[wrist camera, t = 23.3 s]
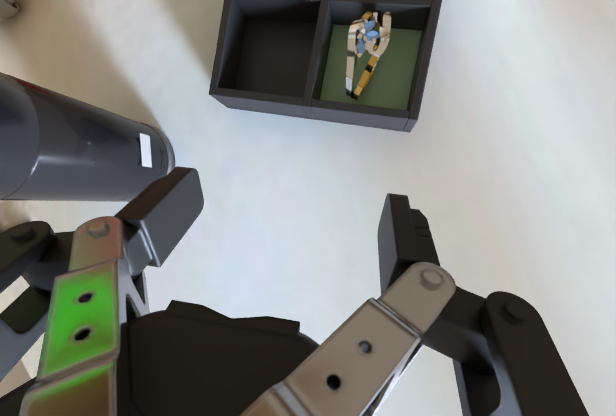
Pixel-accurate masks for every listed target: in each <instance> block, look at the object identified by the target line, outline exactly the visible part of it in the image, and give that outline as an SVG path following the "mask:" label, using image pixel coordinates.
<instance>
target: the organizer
mask: <svg viewBox="0 0 616 416" xmlns="http://www.w3.org/2000/svg"><path fill="white" fill-rule="evenodd" d="M441 3H442V0H224V6H223V12H222V18H221V24H220V30H219V36H218V42H217V48H216V54H215V60H214V66H213V72H212V78H211V84H210V90H209V95H211V96H212V97H214V98H215V99H216V100H218V101H219V102H221V103H222V104H224V105H225V106H226V107H228V108H233V109H241V110H248V111H256V112H263V113H270V114H278V115H285V116H293V117H300V118H307V119H315V120H322V121H330V122H337V123H344V124H352V125H359V126H367V127H374V128H382V129H389V130H396V131H404V132H411V130H412V128H413V127H414V125H415V124H416V122H417V120H418V116H419V111H420V106H421V101H422V96H423V92H424V87H425V82H426V77H427V72H428V67H429V62H430V57H431V52H432V47H433V42H434V37H435V32H436V28H437V23H438V18H439V13H440V8H441ZM370 9H376V10H380V11H382V13H383V14H384V11H387V12H390V13H392V21H391V30H390V38H389V42H388V45H387V47H386V49H385V51H384V52H383V53H382V55H381V58H380V60H379V63H378V65H377V67H376V69H375V72H374V75H373V78H372V79H371V81H370V82H369V83H368V85H367V87H366V89H365V91H364V92H363V94H362V96H361V97H360V99H359V100H358V101H355V100H353V99H351V98H349V97H347V96H346V70H347V51H348V33H349V29H350V26H351V24H352V23H353V22H354V21H355V20H359V19H361V18H362V16H363V15H364V14H365V13H366V12H367V11H369V10H370ZM374 30H375V31H376V28H375V29H374ZM359 33H360V30H359ZM359 33H358V35H359ZM363 42H364V41H363ZM357 43H358V41H357ZM369 58H370V55H369V54H366V51H365V53H364V55H363V59H362V60H361V61H360V60H359V58H358V56H357V63H356V77H355V88H356V86H357V85H358V83H359V81H360V78H361V76H362V74H363V72H364V70H365V68H366V66H367V63H368V60H369Z"/></svg>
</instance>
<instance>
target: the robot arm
mask: <svg viewBox="0 0 616 416" xmlns="http://www.w3.org/2000/svg"><path fill="white" fill-rule="evenodd" d="M0 200H40V201H127V202H129V203H128V204H127V205H126V206H125V207H124V208H123V209H121V210H120V211H119V212H118V213H117V214H116V215H115V216H114V217H112V216H105V217H99V218H95V219H92V220H90V221H87V222H85V223H84V224H82V225H81V226H79V227H78V228H77V229H76V231H72V232H60V233H54V231H53V230H52V228H51V227H50V225H49V224H48V223H47V222H43V221H32V222H26V223H23V224H19V225H17V226H14V227H12V228H10V229H8V230H6V231H5V232H3V233H2V234H0V293H1V292H3V291H4V290H5V289H6V288H7V287H8V286H9V285H11V284H12V283H13V282H14V281H15V280H16V279H17V278H18V277H20V276H21V275H22V277H23V278H24V279H25V280H26V281H27V283H28V284H29V285H30V287H28V288H27V289H26V290H25V291H24V292H23V293H22V294H21V295H20V296H19V297H18V298H17V299H16V300H15V301H14V302H13V303H11V304H10V305H9V306H8V307H7V308H6V309H5V310H4V311H3V312H2V313H1V314H0V382H1V381H2V379H3V378H4V377H5V376H6V375H7V374H8V373H9V371H10V370H11V369H12V368H13V367H14V366H15V365H16V364H17V362H18V361H19V360H20V359H21V358H22V357H23V356H24V354H25V353H26V352H27V351H28V350H29V349H30V348H31V346H32V345H33V344H34V343H35V342H36V341H37V340H38V338H39V337H40V336H41V335H42V334H43V333H44V332H45V334H44V339H43V345H42V350H41V356H40V361H39V367H38V372H37V376H36V377H35V378H33V379H31V380H30V381H28V382H26V383H24V384H23V385H21V386H20V387H18V388H16V389H14V390H13V391H11V392H9V393H8V394H6V395H4V396H3V397H1V398H0V416H374V414H375V413H376V412H377V410H378V409H379V407H380V406H381V405H382V403H383V402H384V400H385V399H386V397H387V396H388V394H389V393H390V391H391V390H392V388H393V387H394V385H395V384H396V382H397V381H398V379H399V378H400V377H401V375H402V374H403V373H404V371H405V370H406V368H407V367H408V366H409V364H410V363H411V362H412V360H413V359H414V358H415V356H416V355H417V353H418V352H419V351H420V349H421V348H422V347H423V345H426V346H428V347H430V348H432V349H434V350H436V351H438V352H440V353H442V354H444V355H446V356H448V357H450V358H452V359H453V365H454V370H455V375H456V381H457V386H458V392H459V397H460V402H461V408H462V413H463V416H589V415H588V413H587V411H586V408H585V406H584V404H583V402H582V400H581V398H580V396H579V394H578V392H577V390H576V388H575V386H574V384H573V382H572V380H571V378H570V376H569V374H568V371H567V369H566V367H565V365H564V363H563V361H562V359H561V357H560V355H559V353H558V351H557V349H556V347H555V345H554V343H553V341H552V339H551V336H550V334H549V332H548V330H547V328H546V326H545V324H544V322H543V320H542V318H541V316H540V315H539V313H538V312H537V311H536V309H535V308H534V307H533V306H532V305H530V304H529V303H528V302H527V301H525V300H524V299H522V298H520V297H518V296H516V295H514V294H511V293H508V292H502V291H497V292H493V293H491V294H490V295H489V296H488V297H487V298H483V297H481V296H478V295H476V294H473V293H471V292H468V291H466V290H463V289H461V288H460V287H458V286H456V284H455V281H454V279H453V278H452V276H451V275H450V274H449V273H448V272H447V271H446V270H445V269H443V268H442V267H440V263H439V260H438V256H437V253H436V249H435V246H434V242H433V239H432V238H431V237H432V235H431V232H430V230H429V225H428V221H427V218H426V217H425V216H424V215H423V214H422V213H421V212H420V210H417V209H410V205H409V201H408V197H407V196H406V195H398V194H390V193H388V194H387V196H386V199H385V203H384V207H383V211H382V215H381V218H380V222H379V227H378V251H379V268H380V284H381V296H380V297H379V298H378V299H377V300H375V299H374V298H370V299H368V300H367V301H366V302H365V303H364V304H363V305H362V306H361V307H359V308H358V309H357V310H356V311H355V312H354V313H353V314H352V315H351V316H350V317H349V318H348V319H347V320H346V321H345V322H344V323H343V324H342V325H341V326H340V327H339V328H338V329H337V330H336V331H335V332H333V333H332V334H331V335H330V336H329V337H328V338H327V339H326V340H325V341H324V342H323V343H322V344H321V345H319V344H317V343H316V342H315V341H314V340H313V339H311V338H309V337H308V336H306V335H304V334H302V333H300V332H299V330H300V322H298V321H292V320H287V319H281V318H275V317H269V316H264V317H250V318H229V317H227V316H224V315H222V314H220V313H218V312H216V311H214V310H212V309H210V308H207V307H205V306H203V305H199V304H193V303H187V302H181V301H175V300H172V301H171V302H170V304H169V306H168V307H167V309H166V310H162V311H157V312H152V313H150V310H149V302H148V294H147V285H146V277H145V273H144V271H143V270H144V268H145V267H146V266H147V265H149V266H155V267H161V265H162V264H163V263H164V261H165V260H166V259H167V257H168V256H169V255H170V253H171V252H172V251H173V249H174V248H175V246H176V245H177V244H178V242H179V241H180V240H181V238H182V237H183V236H184V234H185V233H186V232H187V230H188V229H189V228H190V226H191V225H192V224H193V222H194V221H195V220H196V218H197V217H198V216H199V214H200V213H201V211H202V209H203V204H204V199H203V194H202V189H201V184H200V179H199V175H198V172H197V170H196V169H194V168H186V167H175V157H174V152H173V148H172V146H171V143H170V142H169V140H168V138H167V137H166V136H165V135H164V134H163V133H162V132H161V131H160V130H159V129H157V128H155V127H153V126H150V125H148V124H145V123H141V122H137V121H134V120H131V119H128V118H126V117H123V116H121V115H118V114H115V113H112V112H109V111H107V110H104V109H101V108H98V107H96V106H93V105H90V104H87V103H85V102H82V101H79V100H76V99H74V98H71V97H68V96H65V95H62V94H60V93H57V92H54V91H51V90H49V89H46V88H43V87H40V86H38V85H35V84H32V83H29V82H26V81H24V80H21V79H18V78H15V77H13V76H10V75H7V74H4V73H1V72H0Z"/></svg>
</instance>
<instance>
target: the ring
mask: <svg viewBox="0 0 616 416" xmlns="http://www.w3.org/2000/svg"><path fill="white" fill-rule="evenodd" d="M391 21H392V13H390V12H387V11H384V14H383V13H382V11H380V10H376V9H370V10H369V11H367V12H366V13H365V14H364V15H363V16H362V18H361V19H359V20H355V21H354V22H353V23H352V24H351V26H350V29H349V33H348V51H347V70H346V96H347V97H349V98H351V99H353V100H355V101H358V100H359V99H360V97H361V96H362V94H363V92H364V91H365V89H366V87H367V85H368V83H369V82H370V81H371V79H372V78H373V75H374V72H375V69H376V67H377V65H378V63H379V60H380V58H381V55H382V53H383V52H384V51H385V49H386V47H387V45H388V42H389V38H390V30H391ZM375 28H376V31H375V30H374V29H375ZM359 30H360V33H359ZM358 33H359V35H358ZM357 41H358V43H357ZM363 41H364V42H363ZM365 51H366V54H369V55H370V58H369V60H368V63H367V66H366V68H365V70H364V72H363V74H362V76H361V78H360V81H359V83H358V85H357V86H356V88H355V77H356V63H357V56H358V58H359V60H360V61H361V60H362V59H363V55H364V53H365Z"/></svg>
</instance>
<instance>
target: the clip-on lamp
mask: <svg viewBox="0 0 616 416" xmlns="http://www.w3.org/2000/svg"><path fill="white" fill-rule="evenodd" d="M18 9H19V7H18V5H17V4H16V2H15V0H0V19H6V18H10V17H12V16H14V15H15V14H16V12H17V11H18Z"/></svg>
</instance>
